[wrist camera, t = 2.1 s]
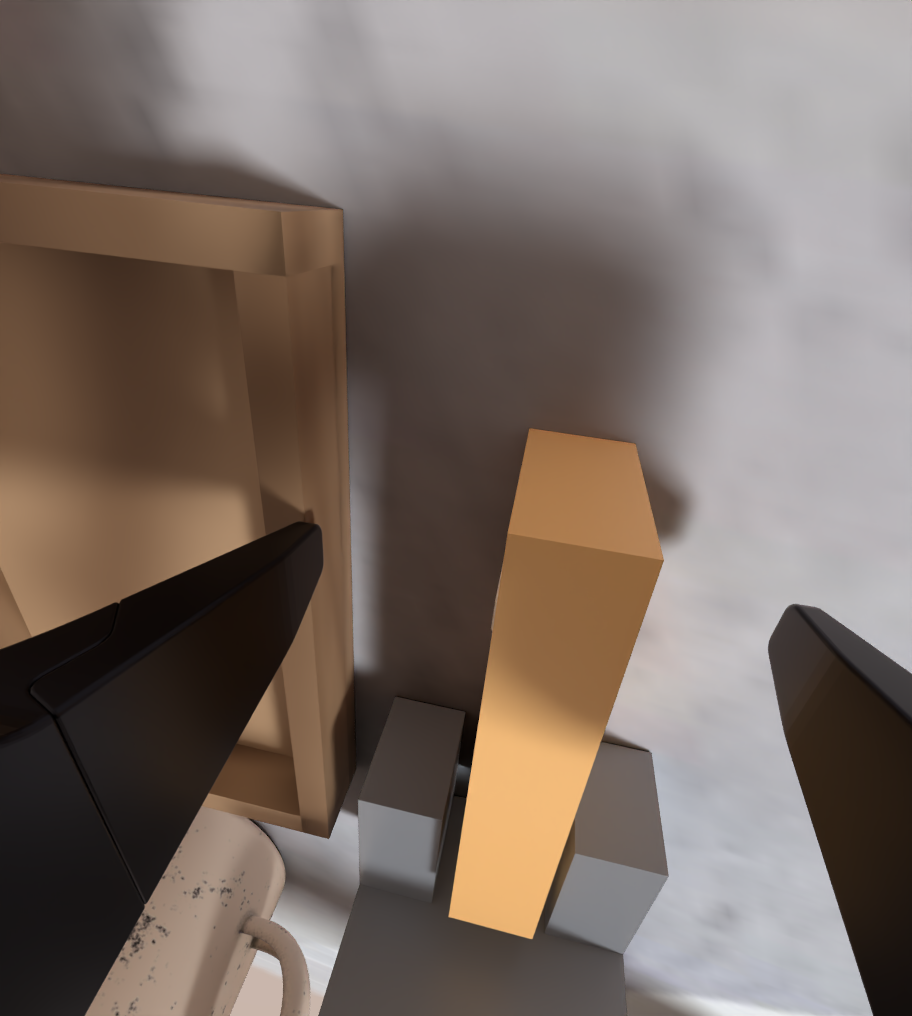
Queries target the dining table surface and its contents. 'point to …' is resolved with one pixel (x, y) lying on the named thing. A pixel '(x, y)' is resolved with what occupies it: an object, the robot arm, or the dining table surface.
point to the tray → (181, 437)
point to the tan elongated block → (552, 667)
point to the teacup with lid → (207, 928)
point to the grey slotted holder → (474, 948)
